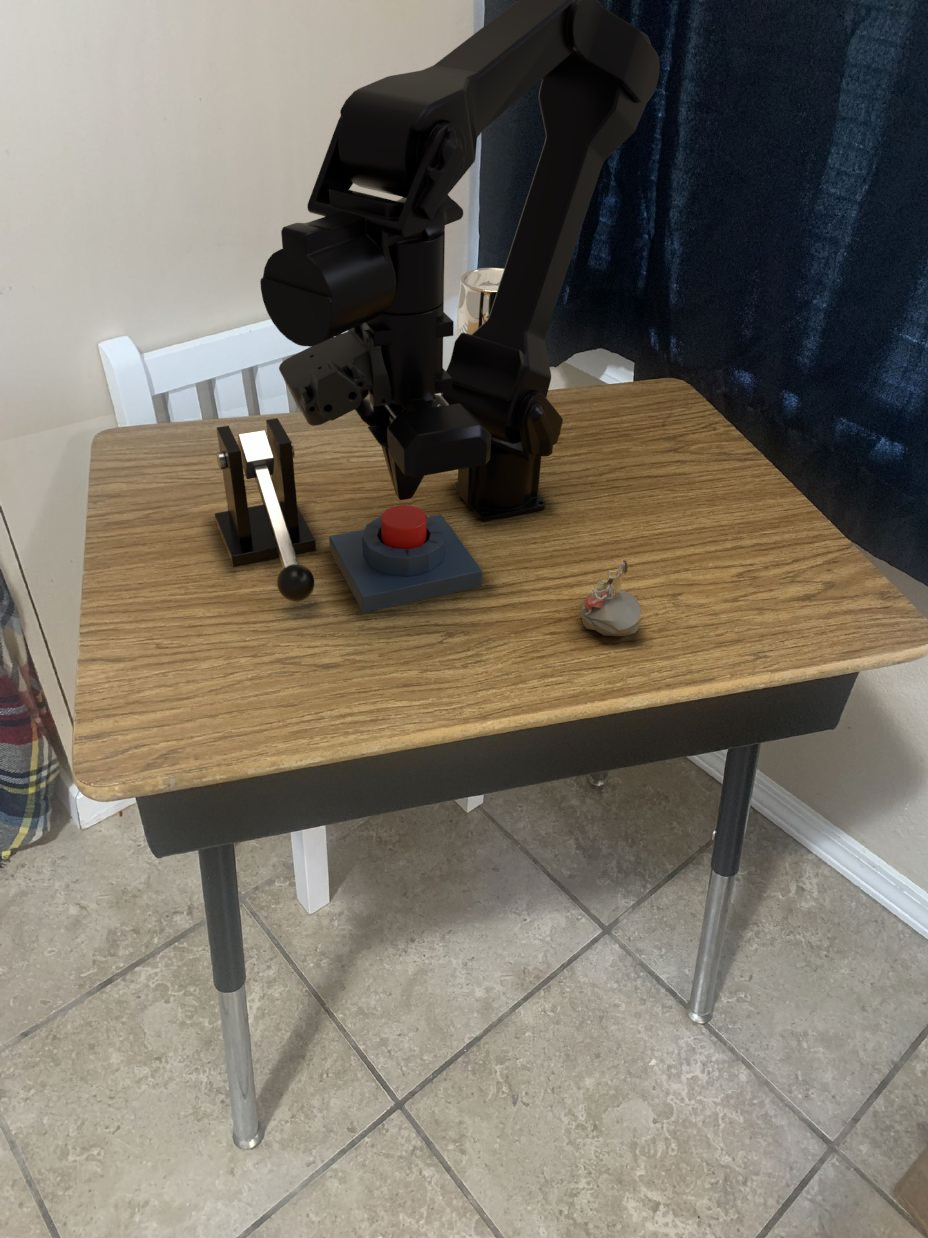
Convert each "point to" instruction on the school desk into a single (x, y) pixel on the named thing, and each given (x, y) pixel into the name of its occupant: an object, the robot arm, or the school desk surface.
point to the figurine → (611, 607)
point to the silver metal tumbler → (477, 298)
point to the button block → (403, 566)
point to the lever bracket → (249, 525)
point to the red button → (403, 527)
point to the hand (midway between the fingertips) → (404, 497)
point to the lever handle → (274, 514)
